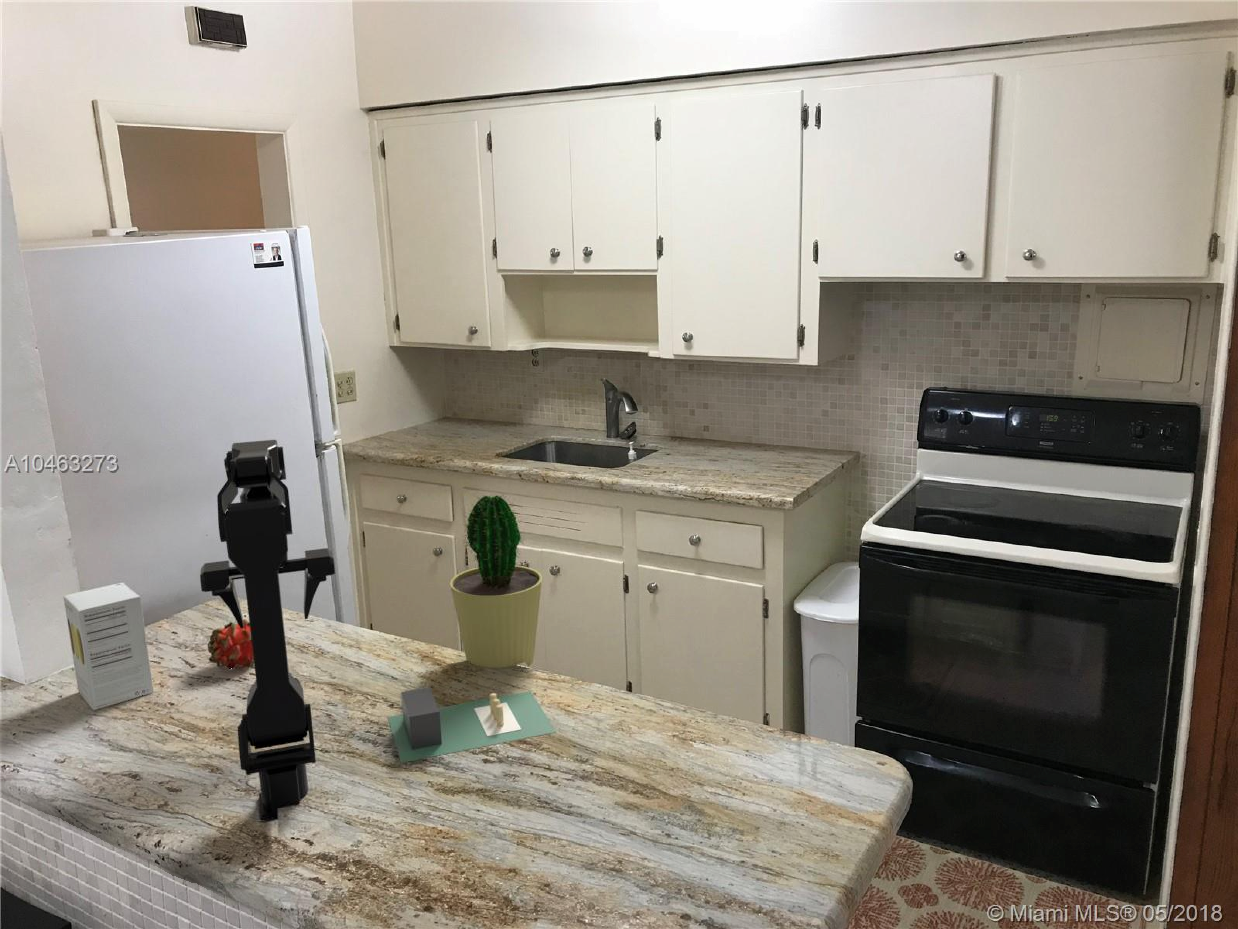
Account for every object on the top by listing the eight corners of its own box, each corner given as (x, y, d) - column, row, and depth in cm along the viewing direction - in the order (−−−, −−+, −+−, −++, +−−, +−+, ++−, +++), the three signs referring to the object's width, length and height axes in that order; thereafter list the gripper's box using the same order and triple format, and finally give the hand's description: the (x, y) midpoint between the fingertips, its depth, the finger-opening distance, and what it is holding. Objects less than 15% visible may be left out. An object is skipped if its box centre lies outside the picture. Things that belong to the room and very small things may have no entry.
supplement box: (76, 692, 159) (61, 595, 155) (136, 674, 165) (123, 580, 161) (93, 712, 152) (77, 610, 148) (155, 693, 158) (141, 595, 154)
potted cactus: (560, 649, 171) (554, 484, 164) (520, 686, 157) (511, 507, 150) (483, 638, 177) (473, 477, 170) (438, 673, 163) (426, 500, 156)
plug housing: (441, 744, 137) (439, 711, 136) (411, 750, 136) (409, 717, 134) (428, 709, 147) (426, 678, 146) (400, 714, 146) (398, 683, 145)
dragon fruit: (208, 688, 163) (260, 668, 174) (240, 664, 160) (290, 646, 171) (185, 643, 164) (238, 627, 175) (216, 619, 161) (268, 604, 172)
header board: (556, 741, 140) (555, 712, 139) (401, 772, 133) (399, 742, 132) (531, 699, 153) (529, 673, 152) (388, 726, 145) (386, 698, 144)
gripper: (324, 504, 155) (333, 596, 159) (198, 518, 149) (210, 614, 152) (330, 522, 145) (339, 620, 148) (194, 537, 139) (207, 640, 142)
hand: (274, 622), depth 148 cm, fingers open, 9 cm apart
